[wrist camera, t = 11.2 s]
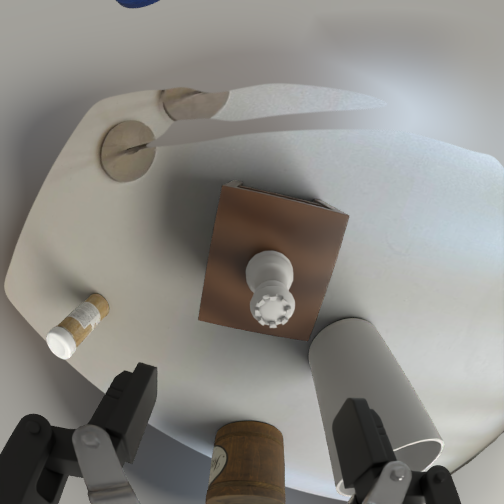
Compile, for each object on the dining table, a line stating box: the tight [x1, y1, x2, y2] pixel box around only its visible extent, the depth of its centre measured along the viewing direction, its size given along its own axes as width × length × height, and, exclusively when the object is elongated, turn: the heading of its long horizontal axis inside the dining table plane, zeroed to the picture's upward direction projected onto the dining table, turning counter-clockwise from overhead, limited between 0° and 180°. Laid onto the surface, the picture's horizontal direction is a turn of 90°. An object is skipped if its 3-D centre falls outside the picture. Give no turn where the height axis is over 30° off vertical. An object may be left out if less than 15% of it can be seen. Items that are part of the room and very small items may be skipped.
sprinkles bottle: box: [46, 294, 109, 359], centre depth 36 cm, size 5×5×13 cm
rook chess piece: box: [246, 251, 295, 328], centre depth 23 cm, size 4×4×8 cm
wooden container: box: [206, 421, 285, 504], centre depth 41 cm, size 15×15×22 cm
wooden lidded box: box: [198, 180, 349, 341], centre depth 32 cm, size 14×12×12 cm
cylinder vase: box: [309, 318, 444, 497], centre depth 31 cm, size 12×12×25 cm
